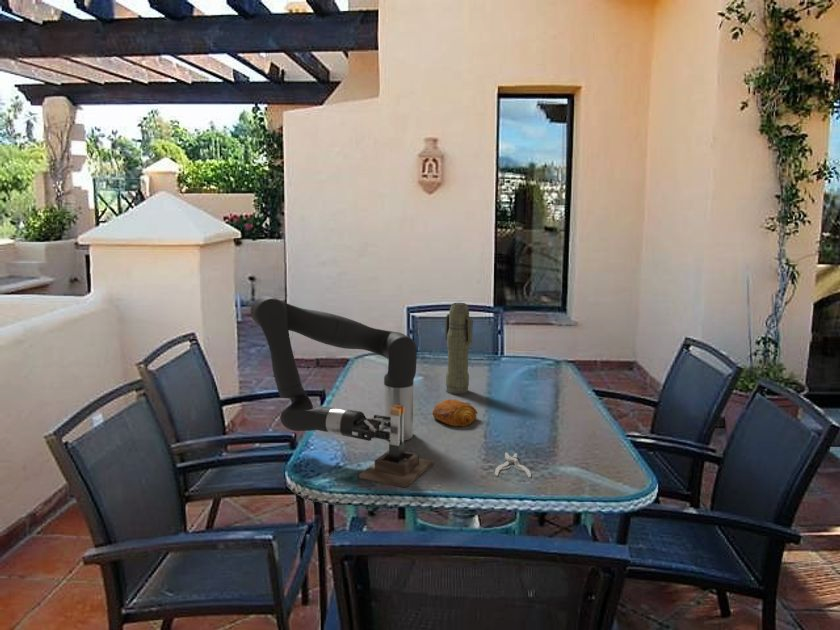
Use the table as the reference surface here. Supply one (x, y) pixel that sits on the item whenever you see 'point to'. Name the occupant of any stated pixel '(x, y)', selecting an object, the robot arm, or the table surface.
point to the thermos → (458, 348)
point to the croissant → (455, 412)
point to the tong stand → (396, 470)
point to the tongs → (397, 435)
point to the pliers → (510, 461)
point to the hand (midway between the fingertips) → (396, 431)
